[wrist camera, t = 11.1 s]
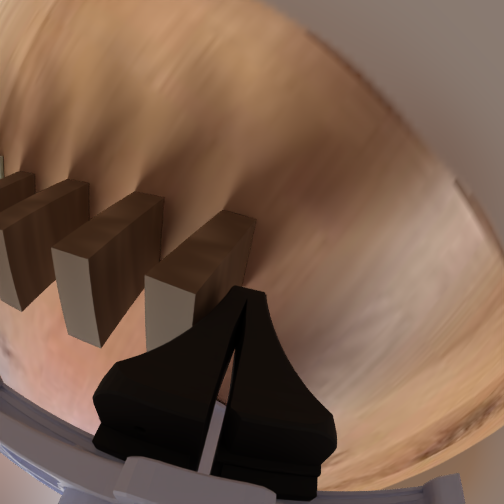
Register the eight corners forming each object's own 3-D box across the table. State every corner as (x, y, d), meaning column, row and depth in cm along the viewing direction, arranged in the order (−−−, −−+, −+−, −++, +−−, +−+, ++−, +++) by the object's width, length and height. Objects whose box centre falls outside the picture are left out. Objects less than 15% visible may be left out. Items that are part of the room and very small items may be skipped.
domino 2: (164, 197, 15) (88, 259, 9) (159, 268, 17) (101, 348, 11) (134, 191, 15) (51, 247, 9) (132, 260, 17) (68, 334, 11)
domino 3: (89, 182, 15) (2, 230, 9) (90, 248, 17) (21, 311, 11) (67, 179, 15) (-18, 222, 9) (70, 242, 18) (1, 300, 11)
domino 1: (256, 219, 15) (195, 294, 9) (240, 291, 17) (187, 381, 11) (222, 209, 15) (144, 274, 9) (211, 281, 17) (147, 364, 11)
